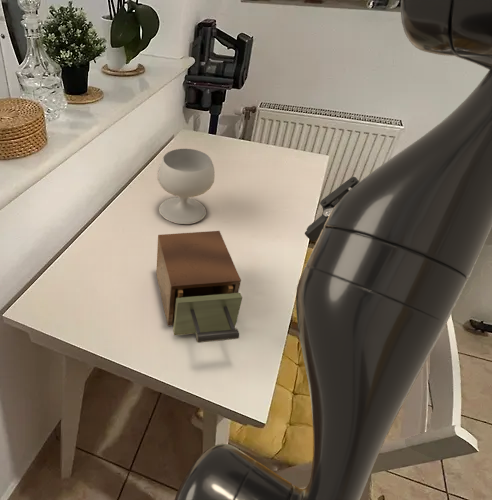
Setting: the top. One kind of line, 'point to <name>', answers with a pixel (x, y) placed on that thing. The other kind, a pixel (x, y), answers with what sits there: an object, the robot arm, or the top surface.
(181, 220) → the chalice
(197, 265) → the cabinet
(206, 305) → the drawer
